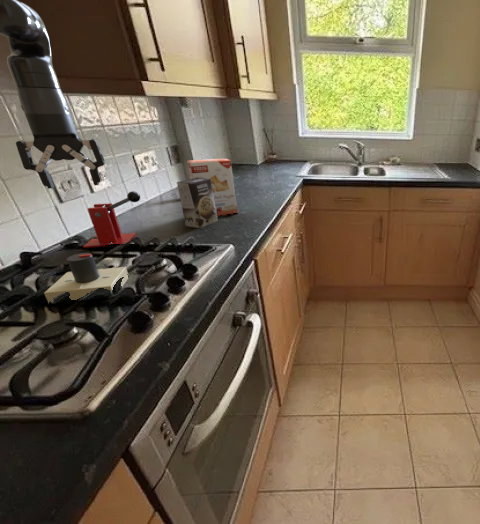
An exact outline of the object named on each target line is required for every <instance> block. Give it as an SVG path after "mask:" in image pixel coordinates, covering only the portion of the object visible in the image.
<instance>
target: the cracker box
mask: <svg viewBox="0 0 480 524" xmlns="http://www.w3.org/2000/svg"><path fill="white" fill-rule="evenodd" d="M186 162H187V168H188V173H189V179H194V178H207V179H211V183H212V189H213V195H214V201H215V207H216V212H217V217H219V216H220V215H223V216H228V215H227V214H231V215H233V214H232V213H238V214H239V212H238V205H237V198H236V191H235V190H236V189H235V182H234V174H233V168H232V167H233V166H232V161H231V160H230V159H229V158H208V159H190V160H186Z"/></svg>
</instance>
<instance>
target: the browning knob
mask: <svg viewBox="0 0 480 524" xmlns="http://www.w3.org/2000/svg"><path fill="white" fill-rule="evenodd" d="M66 261H67V264H68V266H69V269H70V272H72V274H73V276H74V279H75V281H76V282H77V283H87V282H91V281H94V280H96V279H98V278H99V277H100V275H99V272H98V269H99V268H98V266H97V264H96V261H95V259H94V256H93V254H92V253H91V252H81V253H75V254H73V255H70V256H67V258H66Z"/></svg>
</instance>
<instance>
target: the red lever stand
mask: <svg viewBox="0 0 480 524" xmlns="http://www.w3.org/2000/svg"><path fill="white" fill-rule="evenodd" d="M104 205H105V206H106V207H102V206H104ZM111 205H113V203H109V202H108V203H94V204H93V207H87V212H88V215H89V217H90V220H91V223H92V226H93V228H94V233H95V236H94V237H97V238H98V239H93V238H91V239H90V240H89V241H88V242H86V243H85V244H84V245H83V246H82V248H83V249H88V248H101V246H103V247H106V246H105V245H111V244H108V243H111V242H112V243H113V244H123V243H127V242H129V241H130V240H131V241H132V240H133V239H134V238H135V237H136V236H137V234H138V233H137V232H132V233H131V232H130V233H122V231H121V227H120V224H119V221H118V218H117V215H116V212H115V208H114V209H112V210H110V213H108V209H107V207H109V206H111ZM131 241H130V242H131ZM130 242H129V243H130ZM100 243H102V244H100Z"/></svg>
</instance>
